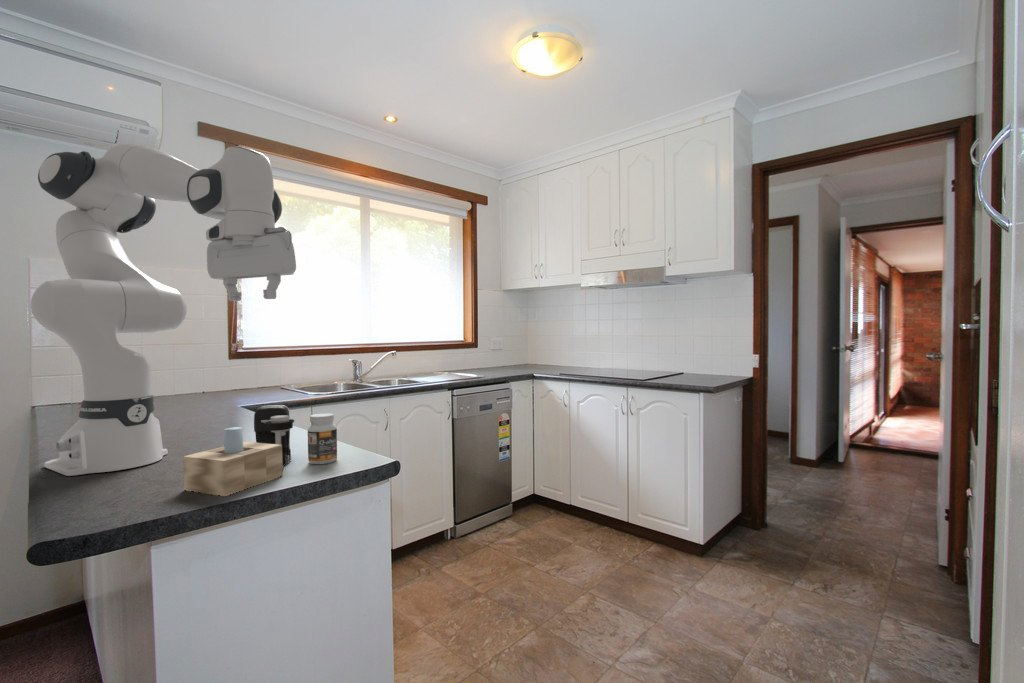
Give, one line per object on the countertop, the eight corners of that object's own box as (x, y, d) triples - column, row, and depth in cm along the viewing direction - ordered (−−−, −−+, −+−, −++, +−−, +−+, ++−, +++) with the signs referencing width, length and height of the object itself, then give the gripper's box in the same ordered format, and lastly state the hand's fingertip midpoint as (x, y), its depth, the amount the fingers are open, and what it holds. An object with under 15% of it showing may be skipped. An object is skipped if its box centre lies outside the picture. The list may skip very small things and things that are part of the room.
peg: (221, 484, 87) (219, 429, 87) (236, 480, 90) (234, 426, 89) (233, 486, 86) (231, 430, 86) (248, 481, 89) (246, 427, 88)
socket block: (184, 490, 84) (183, 456, 84) (244, 471, 95) (243, 441, 95) (225, 496, 80) (224, 460, 80) (282, 476, 92) (282, 444, 91)
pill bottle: (323, 466, 98) (322, 417, 98) (302, 463, 100) (301, 416, 100) (343, 459, 103) (342, 413, 103) (322, 457, 106) (321, 412, 105)
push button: (288, 468, 97) (287, 419, 97) (260, 470, 96) (259, 420, 96) (298, 460, 103) (297, 413, 103) (272, 461, 103) (271, 414, 102)
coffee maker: (253, 461, 103) (251, 408, 102) (257, 457, 106) (255, 405, 106) (288, 458, 105) (287, 406, 105) (291, 454, 108) (290, 404, 108)
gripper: (302, 228, 95) (304, 298, 95) (228, 237, 102) (229, 302, 102) (277, 222, 89) (279, 296, 89) (199, 232, 96) (201, 301, 97)
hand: (252, 299), depth 96 cm, fingers open, 8 cm apart
